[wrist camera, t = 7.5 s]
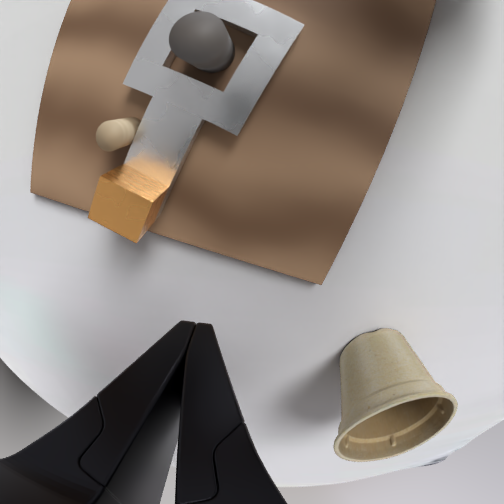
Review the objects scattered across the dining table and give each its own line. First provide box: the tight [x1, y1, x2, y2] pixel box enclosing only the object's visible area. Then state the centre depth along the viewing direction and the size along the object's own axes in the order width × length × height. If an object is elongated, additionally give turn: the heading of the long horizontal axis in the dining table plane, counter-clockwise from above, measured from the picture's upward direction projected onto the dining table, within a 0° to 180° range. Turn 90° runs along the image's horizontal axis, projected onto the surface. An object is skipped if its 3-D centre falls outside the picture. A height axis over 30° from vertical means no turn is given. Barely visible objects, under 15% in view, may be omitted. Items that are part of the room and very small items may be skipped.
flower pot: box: [334, 328, 458, 462], centre depth 20 cm, size 9×9×9 cm
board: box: [30, 0, 436, 285], centre depth 12 cm, size 22×22×5 cm
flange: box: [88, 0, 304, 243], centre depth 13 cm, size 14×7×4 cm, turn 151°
